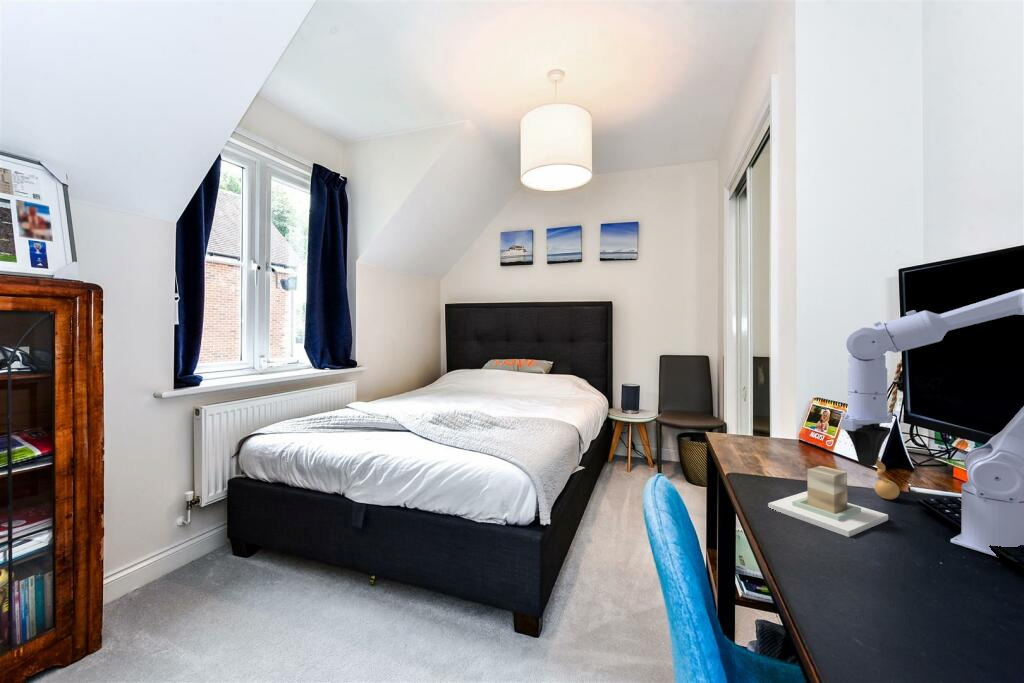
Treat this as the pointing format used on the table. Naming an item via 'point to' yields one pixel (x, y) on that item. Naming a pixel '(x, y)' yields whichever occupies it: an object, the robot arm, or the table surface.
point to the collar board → (829, 515)
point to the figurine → (885, 484)
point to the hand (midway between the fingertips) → (867, 464)
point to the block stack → (827, 489)
